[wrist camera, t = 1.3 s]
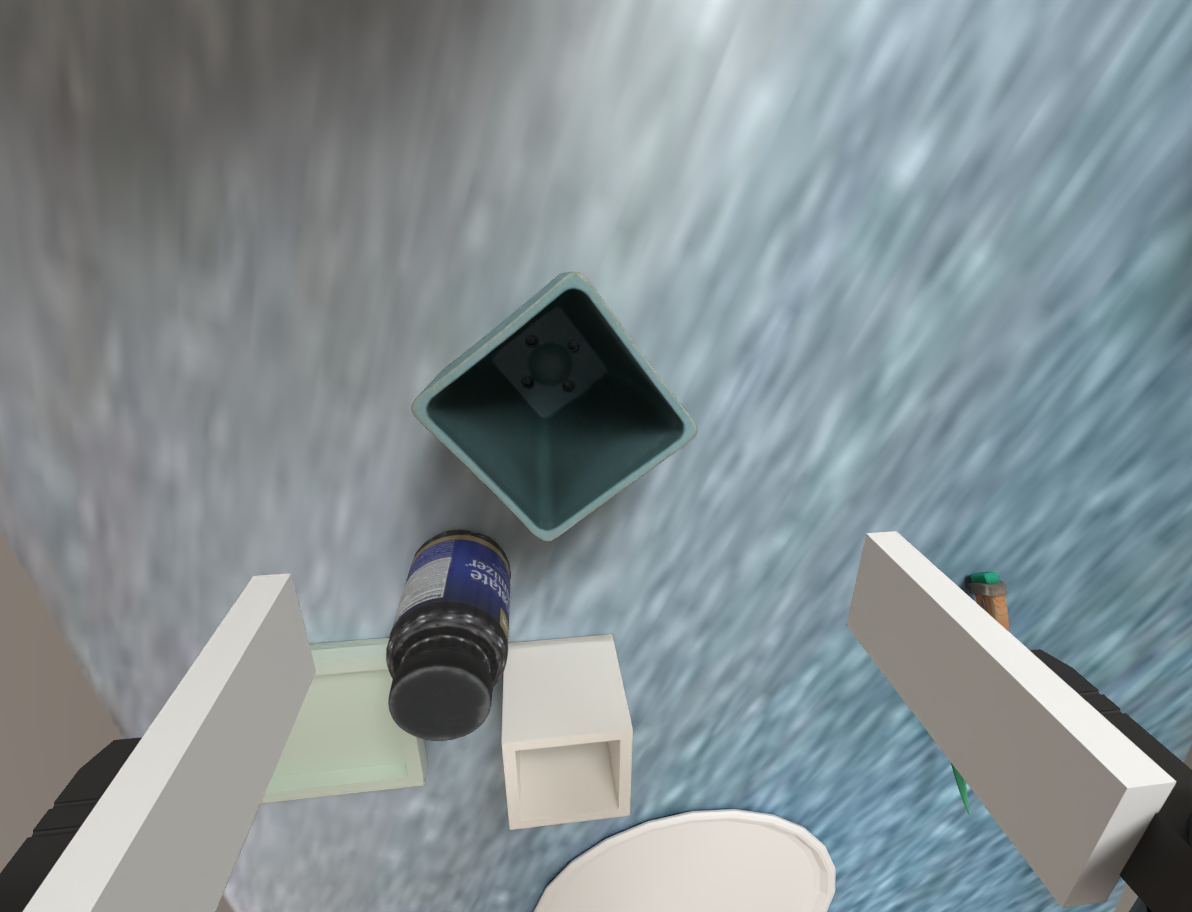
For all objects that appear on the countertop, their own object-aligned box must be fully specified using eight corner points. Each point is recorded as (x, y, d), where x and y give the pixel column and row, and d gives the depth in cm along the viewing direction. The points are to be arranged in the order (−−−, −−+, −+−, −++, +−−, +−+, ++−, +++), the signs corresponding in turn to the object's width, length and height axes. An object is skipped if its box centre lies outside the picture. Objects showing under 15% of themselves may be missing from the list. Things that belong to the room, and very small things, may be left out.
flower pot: (538, 465, 35) (545, 549, 27) (433, 352, 31) (404, 408, 23) (658, 375, 33) (703, 433, 25) (561, 245, 30) (578, 265, 22)
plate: (583, 1019, 62) (584, 1034, 61) (481, 864, 50) (480, 880, 49) (846, 936, 62) (852, 950, 61) (809, 759, 49) (816, 772, 48)
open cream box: (504, 643, 40) (501, 743, 33) (612, 634, 41) (632, 729, 33) (510, 722, 43) (509, 829, 36) (611, 712, 44) (629, 815, 36)
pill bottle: (528, 578, 38) (532, 715, 28) (449, 622, 39) (426, 772, 29) (473, 509, 35) (456, 632, 25) (390, 557, 36) (342, 696, 26)
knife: (960, 560, 42) (1013, 604, 38) (984, 556, 42) (1040, 599, 38) (920, 763, 51) (959, 818, 47) (939, 759, 51) (980, 814, 47)
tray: (212, 652, 37) (198, 672, 36) (406, 636, 39) (401, 655, 37) (257, 781, 42) (246, 804, 41) (428, 763, 44) (424, 785, 42)
